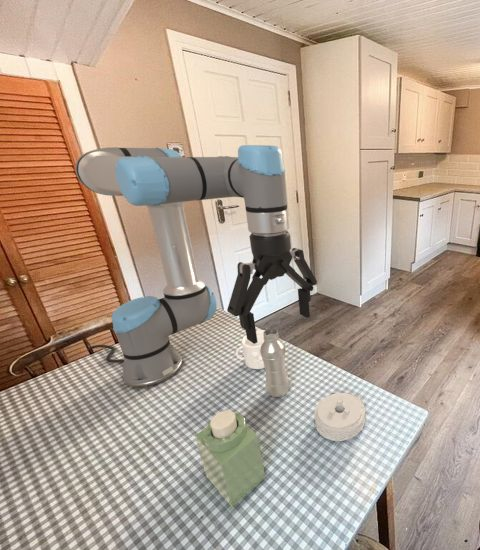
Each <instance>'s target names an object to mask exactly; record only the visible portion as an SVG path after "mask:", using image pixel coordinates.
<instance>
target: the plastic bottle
mask: <svg viewBox="0 0 480 550" xmlns="http://www.w3.org/2000/svg"><path fill="white" fill-rule="evenodd" d="M264 330H265V329H264ZM263 334H264V342H263V344H262V345H261V348H260V354H261V357H262V360H263V362H264V367H265V368H264V372H265V390H266V393H267V394H268V395H269V397H273V398H282V397H283V396H284V395H287V393H288V392H289V391H290V386H291V383H290V378H289V375H288V372H287V369H286V346H285V343H284V342H283V341H282V340H281V339H280V335H279V330H278V329H277V328H268V329H266V330H265V331H264V333H263Z"/></svg>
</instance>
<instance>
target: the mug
mask: <svg viewBox="0 0 480 550" xmlns="http://www.w3.org/2000/svg"><path fill="white" fill-rule="evenodd" d="M264 331H265V329H261V330H260V329H259V330H256V335H257V341H258V342H257V343H255V344H254V343H252V342H251V341H249V340H248V339H247V336H246V335H244V336H243V337H242V339H241V345H240V346H239V347H237V349H235V354H234V355H235V357H236V358H237V359H238V360H242V361H244V364H245V366H246V367H248V368H249V369H252V370H263V369H265V367H264V362H263V360H262V357H261V354H260V348H261V345H262V344H263V342H264V334H263V333H264ZM240 350H242V353H243V356H240V354H239V352H240Z"/></svg>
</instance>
